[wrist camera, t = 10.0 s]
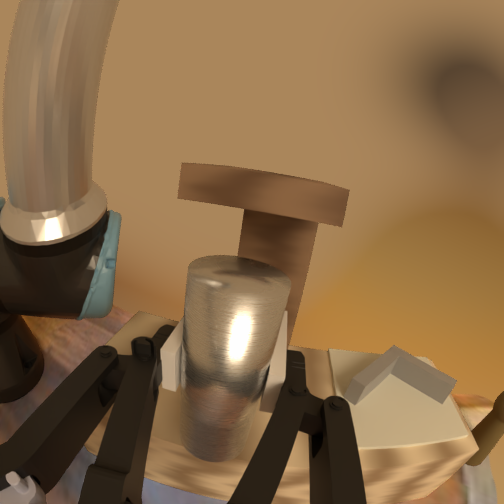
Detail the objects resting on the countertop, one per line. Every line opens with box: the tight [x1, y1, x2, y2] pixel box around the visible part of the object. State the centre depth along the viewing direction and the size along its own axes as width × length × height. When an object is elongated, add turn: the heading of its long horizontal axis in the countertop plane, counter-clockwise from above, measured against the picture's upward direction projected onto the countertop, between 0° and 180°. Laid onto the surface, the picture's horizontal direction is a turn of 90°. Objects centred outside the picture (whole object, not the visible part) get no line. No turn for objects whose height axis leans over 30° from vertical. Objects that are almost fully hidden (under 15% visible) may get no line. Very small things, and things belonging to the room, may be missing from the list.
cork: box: [466, 391, 504, 466], centre depth 19 cm, size 6×6×11 cm
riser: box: [84, 311, 479, 504], centre depth 24 cm, size 38×16×10 cm, turn 82°
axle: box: [180, 255, 291, 462], centre depth 14 cm, size 4×4×12 cm
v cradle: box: [328, 345, 469, 449], centre depth 22 cm, size 14×14×3 cm
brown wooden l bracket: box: [178, 163, 349, 349], centre depth 22 cm, size 9×12×18 cm
